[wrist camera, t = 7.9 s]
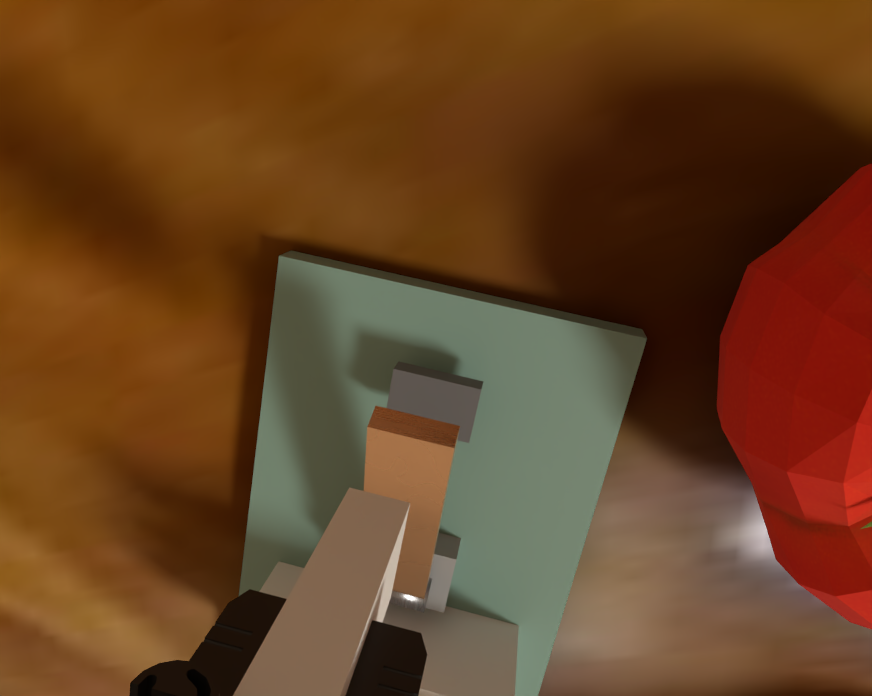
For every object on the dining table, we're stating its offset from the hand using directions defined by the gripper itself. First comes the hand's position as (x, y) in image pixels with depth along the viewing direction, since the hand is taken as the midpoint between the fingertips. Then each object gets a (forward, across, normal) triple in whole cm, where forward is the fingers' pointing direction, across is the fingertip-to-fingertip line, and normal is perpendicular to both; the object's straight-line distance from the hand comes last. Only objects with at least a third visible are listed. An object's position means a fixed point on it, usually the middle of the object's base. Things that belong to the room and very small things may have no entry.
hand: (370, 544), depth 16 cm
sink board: (+10, 0, -11) cm, 15 cm away
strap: (+5, 0, -2) cm, 6 cm away
